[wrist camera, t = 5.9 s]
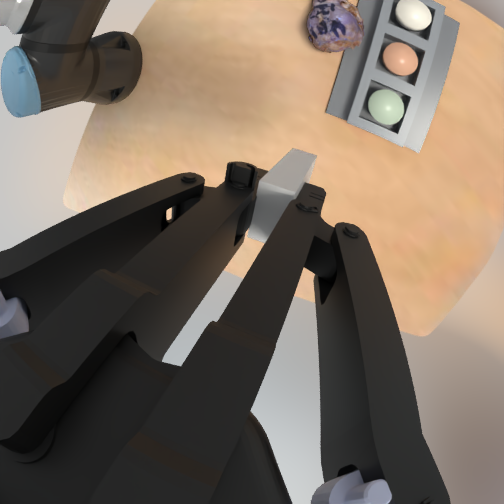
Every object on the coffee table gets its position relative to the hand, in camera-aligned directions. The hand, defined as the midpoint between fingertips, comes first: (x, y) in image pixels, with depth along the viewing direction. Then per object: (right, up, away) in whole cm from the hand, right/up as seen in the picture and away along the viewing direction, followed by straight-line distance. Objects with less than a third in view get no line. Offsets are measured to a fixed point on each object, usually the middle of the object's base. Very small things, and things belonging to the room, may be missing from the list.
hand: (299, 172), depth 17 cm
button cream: (+17, +24, +4) cm, 30 cm away
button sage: (+14, +13, +12) cm, 23 cm away
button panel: (+16, +20, +10) cm, 28 cm away
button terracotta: (+16, +19, +9) cm, 26 cm away
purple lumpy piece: (+8, +26, +10) cm, 29 cm away
